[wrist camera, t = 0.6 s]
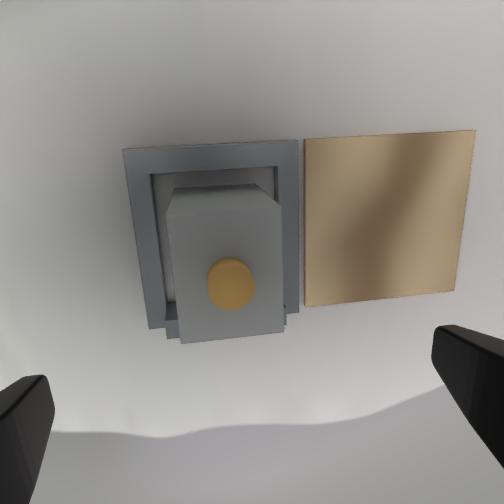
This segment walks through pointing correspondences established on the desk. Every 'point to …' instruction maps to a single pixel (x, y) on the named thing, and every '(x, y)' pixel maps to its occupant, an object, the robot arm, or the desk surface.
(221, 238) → the cable plug
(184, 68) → the desk surface
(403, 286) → the cork pad
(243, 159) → the grey square frame
